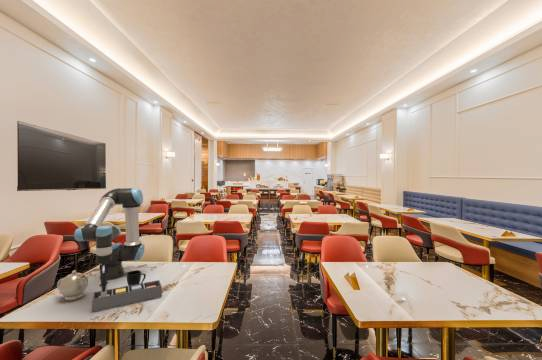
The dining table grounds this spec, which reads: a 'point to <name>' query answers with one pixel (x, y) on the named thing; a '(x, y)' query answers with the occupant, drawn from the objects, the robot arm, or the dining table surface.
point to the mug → (134, 277)
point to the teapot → (73, 286)
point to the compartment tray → (126, 296)
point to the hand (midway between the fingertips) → (103, 296)
